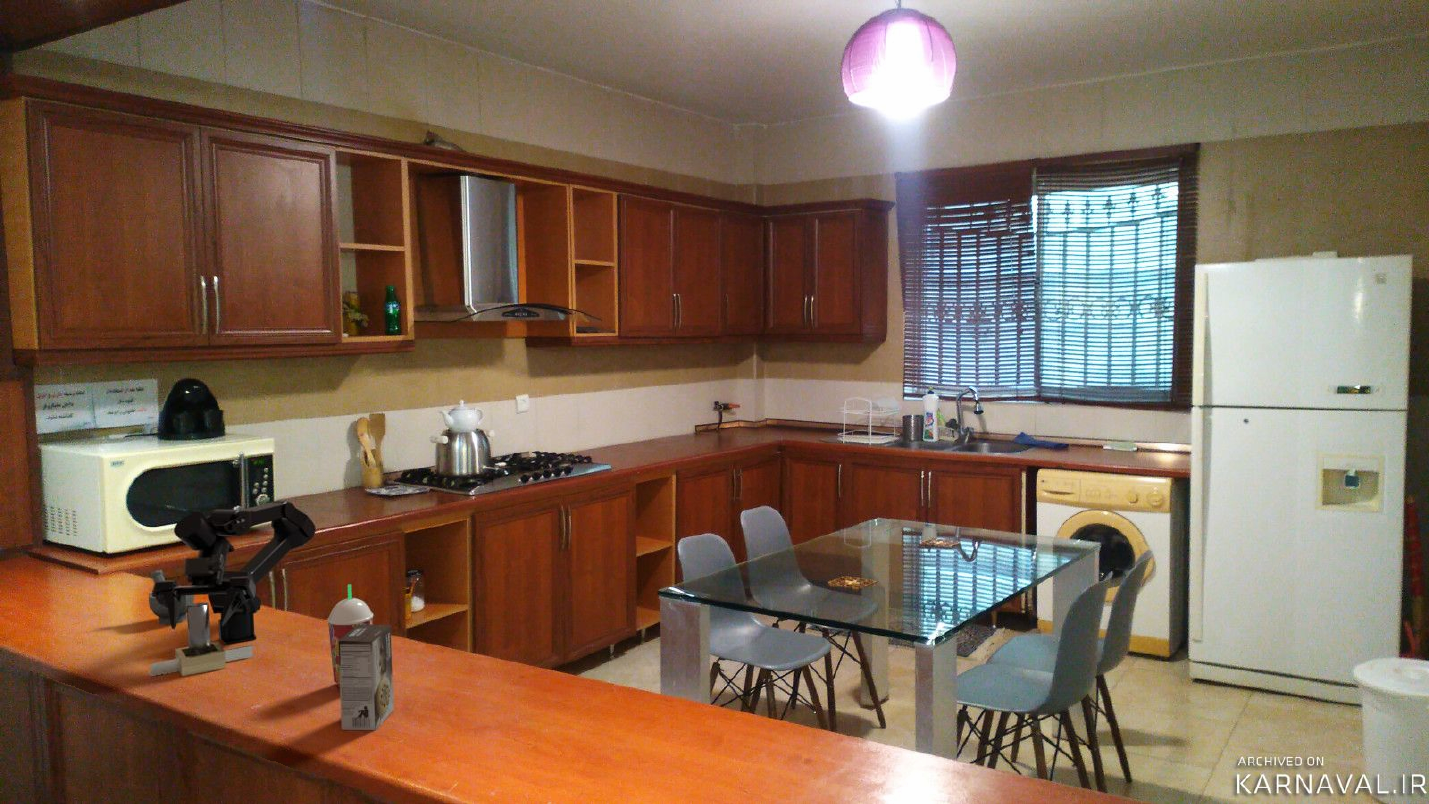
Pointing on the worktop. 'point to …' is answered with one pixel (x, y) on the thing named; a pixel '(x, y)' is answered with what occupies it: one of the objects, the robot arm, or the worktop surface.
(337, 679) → the smoothie
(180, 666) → the bracket
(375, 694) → the coffee box
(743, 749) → the worktop surface
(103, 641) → the worktop surface
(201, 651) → the hinge pin
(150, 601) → the mortar and pestle
